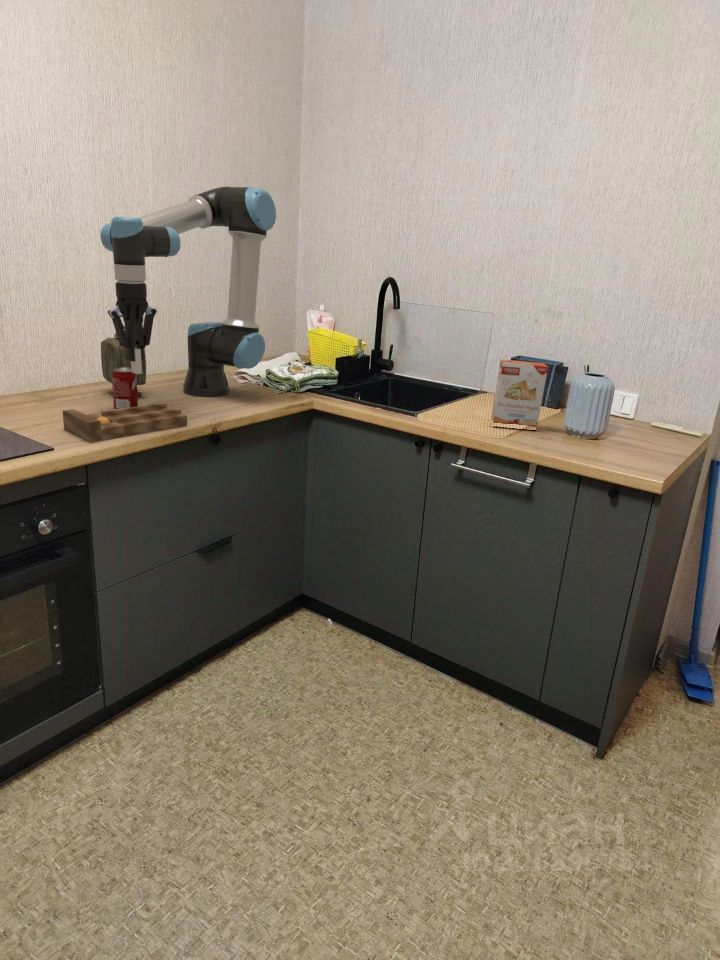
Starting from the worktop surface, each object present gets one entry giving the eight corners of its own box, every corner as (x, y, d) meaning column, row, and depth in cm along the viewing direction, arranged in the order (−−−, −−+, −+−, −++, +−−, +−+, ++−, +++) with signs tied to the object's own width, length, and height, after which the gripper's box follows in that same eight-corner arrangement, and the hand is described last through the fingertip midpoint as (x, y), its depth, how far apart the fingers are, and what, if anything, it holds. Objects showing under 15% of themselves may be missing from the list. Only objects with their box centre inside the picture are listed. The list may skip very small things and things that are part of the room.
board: (159, 414, 190) (159, 398, 188) (187, 425, 181) (187, 408, 179) (64, 429, 170) (62, 410, 168) (90, 442, 161) (88, 422, 159)
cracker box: (492, 428, 205) (502, 361, 198) (490, 423, 210) (499, 358, 203) (537, 432, 204) (548, 365, 197) (533, 427, 210) (544, 362, 203)
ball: (107, 416, 172) (93, 413, 169) (115, 420, 169) (100, 417, 166) (103, 431, 172) (89, 428, 169) (111, 434, 170) (97, 432, 167)
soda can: (130, 413, 188) (128, 372, 184) (109, 410, 190) (106, 369, 186) (142, 408, 195) (140, 368, 191) (121, 405, 196) (119, 366, 192)
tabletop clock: (147, 398, 207) (144, 318, 198) (119, 401, 201) (114, 318, 193) (129, 388, 217) (125, 312, 208) (102, 391, 211) (97, 312, 203)
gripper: (145, 279, 174) (150, 367, 182) (99, 280, 164) (107, 373, 173) (161, 282, 169) (165, 372, 178) (114, 283, 160) (121, 378, 169)
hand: (136, 372), depth 175 cm, fingers closed
